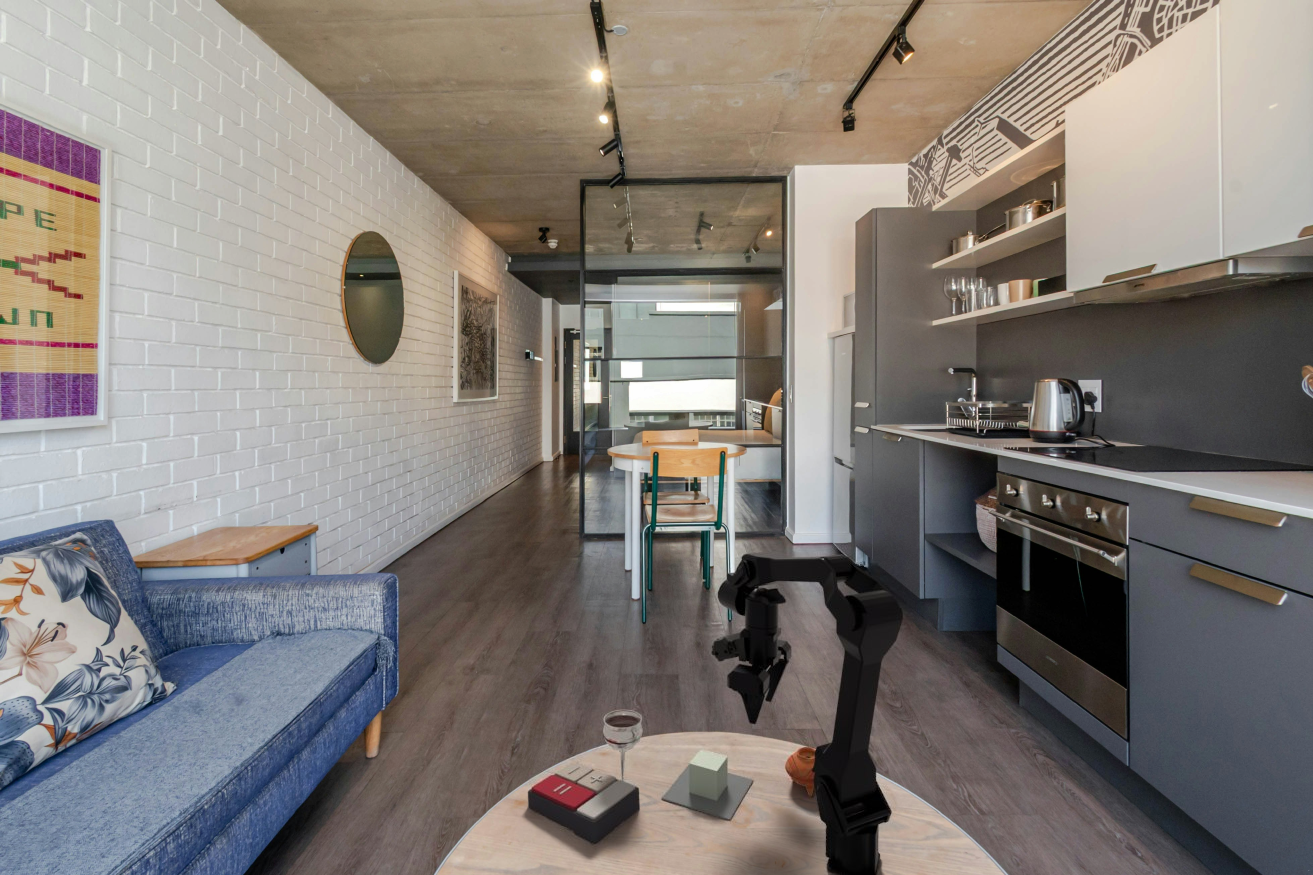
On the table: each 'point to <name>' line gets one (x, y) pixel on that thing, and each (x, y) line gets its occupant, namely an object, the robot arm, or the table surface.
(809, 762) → the pot
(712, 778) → the sage block
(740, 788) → the charcoal mat
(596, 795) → the calculator
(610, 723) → the wineglass
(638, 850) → the table surface
